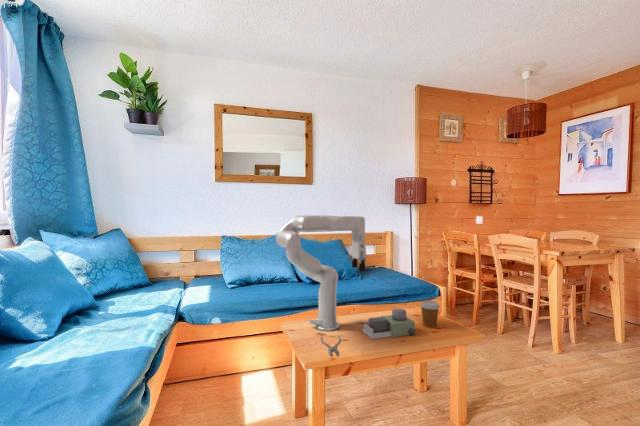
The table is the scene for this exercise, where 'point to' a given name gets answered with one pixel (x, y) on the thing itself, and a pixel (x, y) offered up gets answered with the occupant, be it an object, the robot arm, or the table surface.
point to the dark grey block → (378, 324)
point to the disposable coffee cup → (429, 313)
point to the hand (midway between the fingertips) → (358, 268)
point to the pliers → (332, 347)
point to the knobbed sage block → (394, 326)
